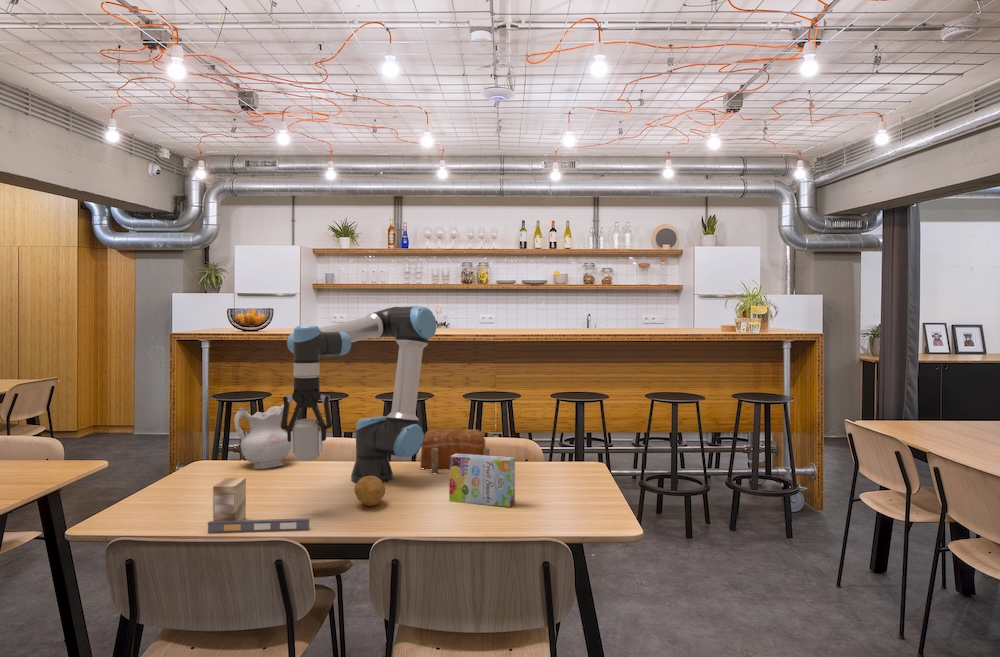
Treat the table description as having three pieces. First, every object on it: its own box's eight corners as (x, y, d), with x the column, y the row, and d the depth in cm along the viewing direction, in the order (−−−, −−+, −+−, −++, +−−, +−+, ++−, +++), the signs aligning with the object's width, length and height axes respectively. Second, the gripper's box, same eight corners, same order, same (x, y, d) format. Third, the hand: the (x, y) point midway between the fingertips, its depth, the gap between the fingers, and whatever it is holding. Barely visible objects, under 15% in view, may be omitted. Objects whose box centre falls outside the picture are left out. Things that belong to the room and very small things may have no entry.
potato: (348, 511, 196) (348, 481, 196) (361, 499, 209) (361, 471, 209) (378, 512, 195) (379, 481, 195) (389, 500, 209) (389, 471, 209)
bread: (486, 471, 250) (486, 431, 250) (419, 472, 249) (419, 432, 249) (486, 464, 264) (486, 426, 264) (422, 464, 263) (422, 426, 263)
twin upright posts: (485, 461, 268) (485, 437, 268) (489, 474, 245) (490, 448, 245) (431, 462, 265) (431, 438, 265) (431, 475, 243) (431, 449, 243)
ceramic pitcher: (256, 476, 241) (256, 410, 241) (224, 470, 251) (224, 407, 251) (301, 465, 259) (301, 404, 259) (270, 460, 269) (270, 401, 269)
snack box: (515, 503, 205) (515, 456, 205) (510, 508, 200) (510, 460, 200) (455, 497, 212) (455, 452, 212) (448, 501, 207) (448, 455, 207)
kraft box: (245, 518, 189) (245, 477, 189) (235, 529, 179) (235, 486, 178) (224, 518, 188) (224, 478, 188) (212, 529, 178) (212, 486, 178)
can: (312, 462, 189) (312, 421, 189) (289, 461, 191) (289, 421, 190) (324, 456, 196) (324, 418, 196) (301, 455, 198) (301, 417, 198)
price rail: (309, 528, 180) (309, 518, 180) (308, 530, 178) (308, 520, 178) (209, 531, 177) (209, 521, 177) (207, 533, 175) (207, 523, 175)
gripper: (342, 375, 198) (342, 448, 198) (275, 375, 196) (275, 450, 196) (339, 377, 191) (339, 453, 191) (268, 378, 188) (269, 455, 189)
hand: (306, 451), depth 193 cm, fingers closed on can, 7 cm apart
